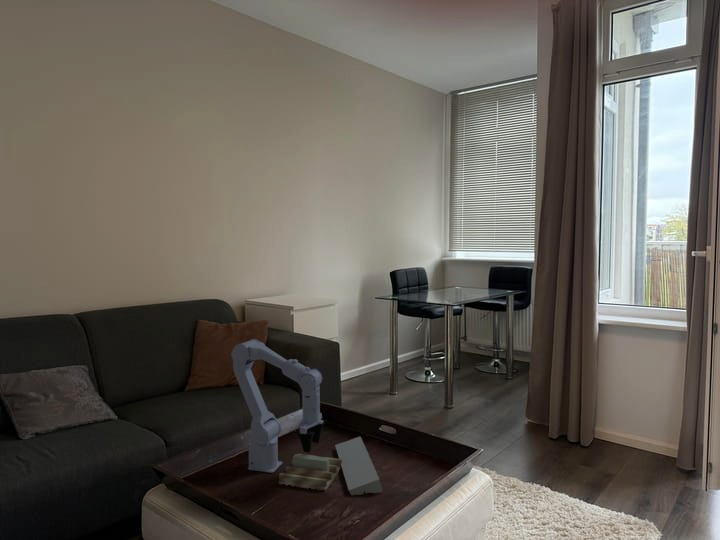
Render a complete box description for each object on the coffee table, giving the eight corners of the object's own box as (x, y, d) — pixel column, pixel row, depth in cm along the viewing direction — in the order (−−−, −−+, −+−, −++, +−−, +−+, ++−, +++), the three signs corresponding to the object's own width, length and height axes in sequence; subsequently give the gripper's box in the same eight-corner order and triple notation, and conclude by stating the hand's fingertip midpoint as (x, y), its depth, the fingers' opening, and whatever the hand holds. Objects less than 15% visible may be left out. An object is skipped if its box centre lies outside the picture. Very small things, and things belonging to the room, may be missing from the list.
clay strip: (293, 471, 168) (292, 457, 167) (295, 468, 170) (295, 454, 170) (326, 476, 164) (326, 461, 164) (329, 472, 167) (329, 458, 166)
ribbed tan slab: (278, 484, 161) (278, 474, 161) (299, 461, 178) (299, 453, 177) (325, 491, 157) (325, 481, 157) (342, 467, 173) (342, 458, 173)
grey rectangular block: (352, 504, 155) (383, 493, 156) (348, 490, 154) (379, 479, 155) (338, 456, 188) (363, 448, 190) (335, 445, 188) (360, 436, 189)
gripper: (314, 415, 158) (314, 457, 159) (330, 401, 172) (330, 439, 173) (293, 413, 160) (293, 454, 161) (310, 399, 174) (311, 437, 175)
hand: (311, 447), depth 167 cm, fingers open, 7 cm apart
